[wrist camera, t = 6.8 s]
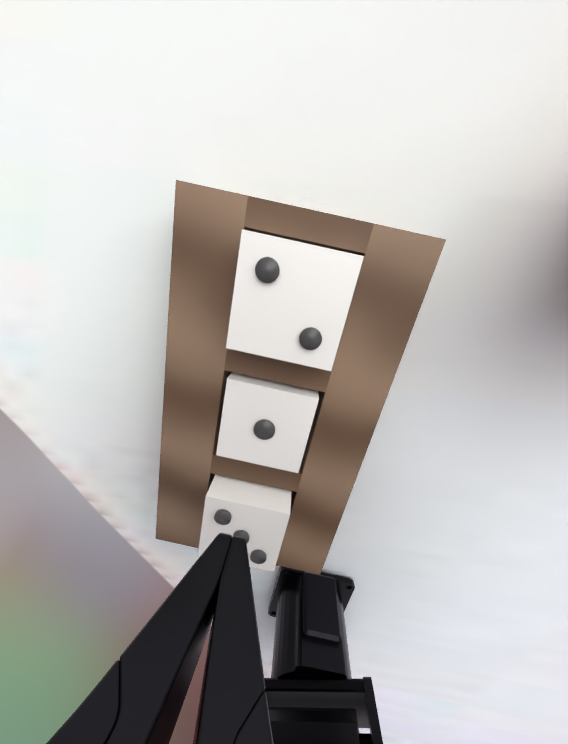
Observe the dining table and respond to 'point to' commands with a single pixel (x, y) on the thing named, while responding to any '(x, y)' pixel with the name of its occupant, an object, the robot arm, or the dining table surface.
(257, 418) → the one dot key
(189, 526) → the key panel
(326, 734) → the robot arm
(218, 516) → the three dot key
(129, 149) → the dining table surface
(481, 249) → the dining table surface
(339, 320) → the two dot key
